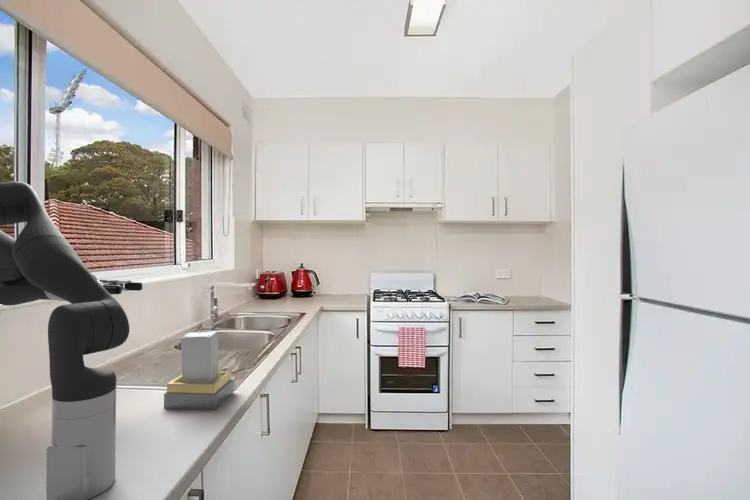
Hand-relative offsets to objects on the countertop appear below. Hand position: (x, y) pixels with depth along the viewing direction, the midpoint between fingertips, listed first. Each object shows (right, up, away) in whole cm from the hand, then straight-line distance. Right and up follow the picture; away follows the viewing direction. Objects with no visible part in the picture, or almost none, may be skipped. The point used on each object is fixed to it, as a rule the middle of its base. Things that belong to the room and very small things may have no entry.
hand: (131, 288), depth 104 cm
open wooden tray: (+16, -32, +7) cm, 37 cm away
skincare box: (+16, -28, +6) cm, 33 cm away
